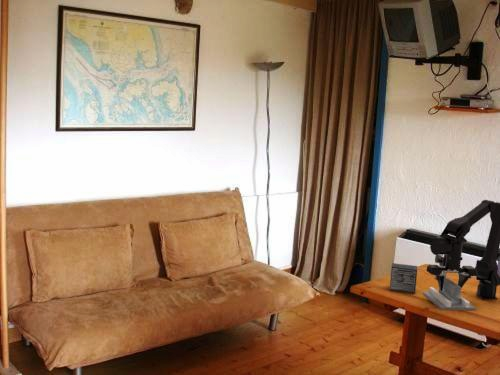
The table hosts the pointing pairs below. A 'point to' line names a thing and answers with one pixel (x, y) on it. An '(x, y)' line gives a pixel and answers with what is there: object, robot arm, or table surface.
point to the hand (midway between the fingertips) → (449, 291)
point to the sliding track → (447, 301)
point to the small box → (403, 278)
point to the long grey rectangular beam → (451, 291)
